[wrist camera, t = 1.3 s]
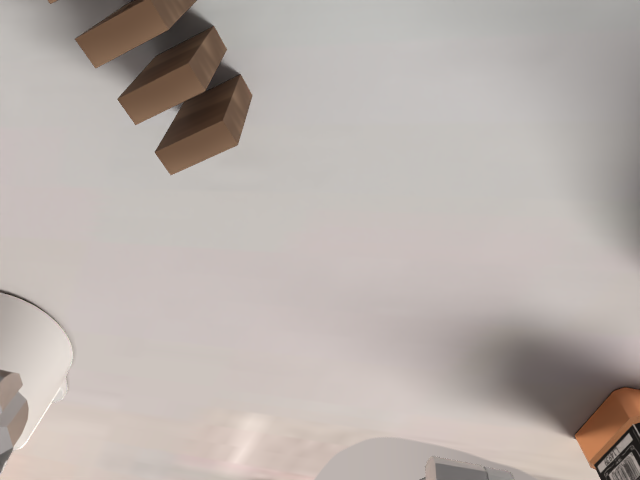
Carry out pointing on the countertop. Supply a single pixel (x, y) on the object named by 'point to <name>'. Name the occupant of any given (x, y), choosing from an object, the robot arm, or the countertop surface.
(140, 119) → the domino
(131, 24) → the domino
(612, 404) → the whiskey bottle
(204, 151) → the domino
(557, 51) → the countertop surface
